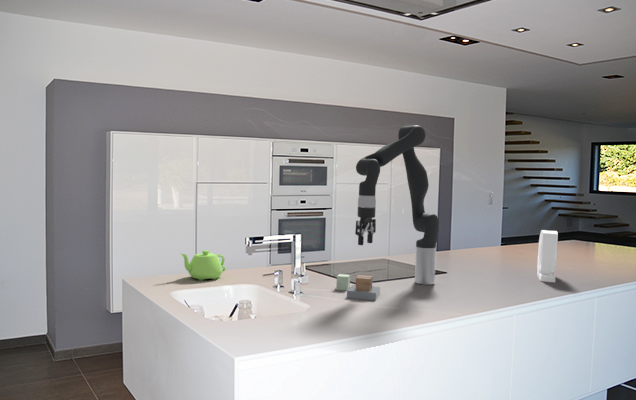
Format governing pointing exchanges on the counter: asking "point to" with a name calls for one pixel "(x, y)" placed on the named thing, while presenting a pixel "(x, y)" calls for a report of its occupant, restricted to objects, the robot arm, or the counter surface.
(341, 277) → the sage block
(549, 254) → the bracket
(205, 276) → the teapot
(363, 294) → the slate trivet
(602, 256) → the counter surface
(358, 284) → the walnut block
